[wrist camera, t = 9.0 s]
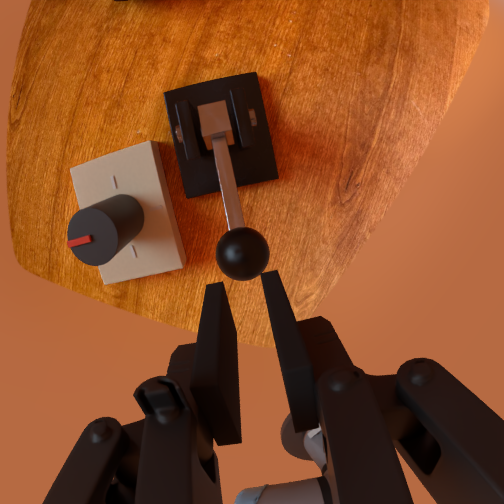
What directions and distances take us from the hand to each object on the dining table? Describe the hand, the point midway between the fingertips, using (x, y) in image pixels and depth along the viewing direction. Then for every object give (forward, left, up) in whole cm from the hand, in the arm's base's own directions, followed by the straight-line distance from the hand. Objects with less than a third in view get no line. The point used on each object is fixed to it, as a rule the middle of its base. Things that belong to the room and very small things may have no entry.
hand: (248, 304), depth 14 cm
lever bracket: (+9, 0, -21) cm, 23 cm away
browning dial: (+3, +12, -18) cm, 22 cm away
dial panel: (+3, +12, -21) cm, 25 cm away
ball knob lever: (+4, 0, -11) cm, 11 cm away
